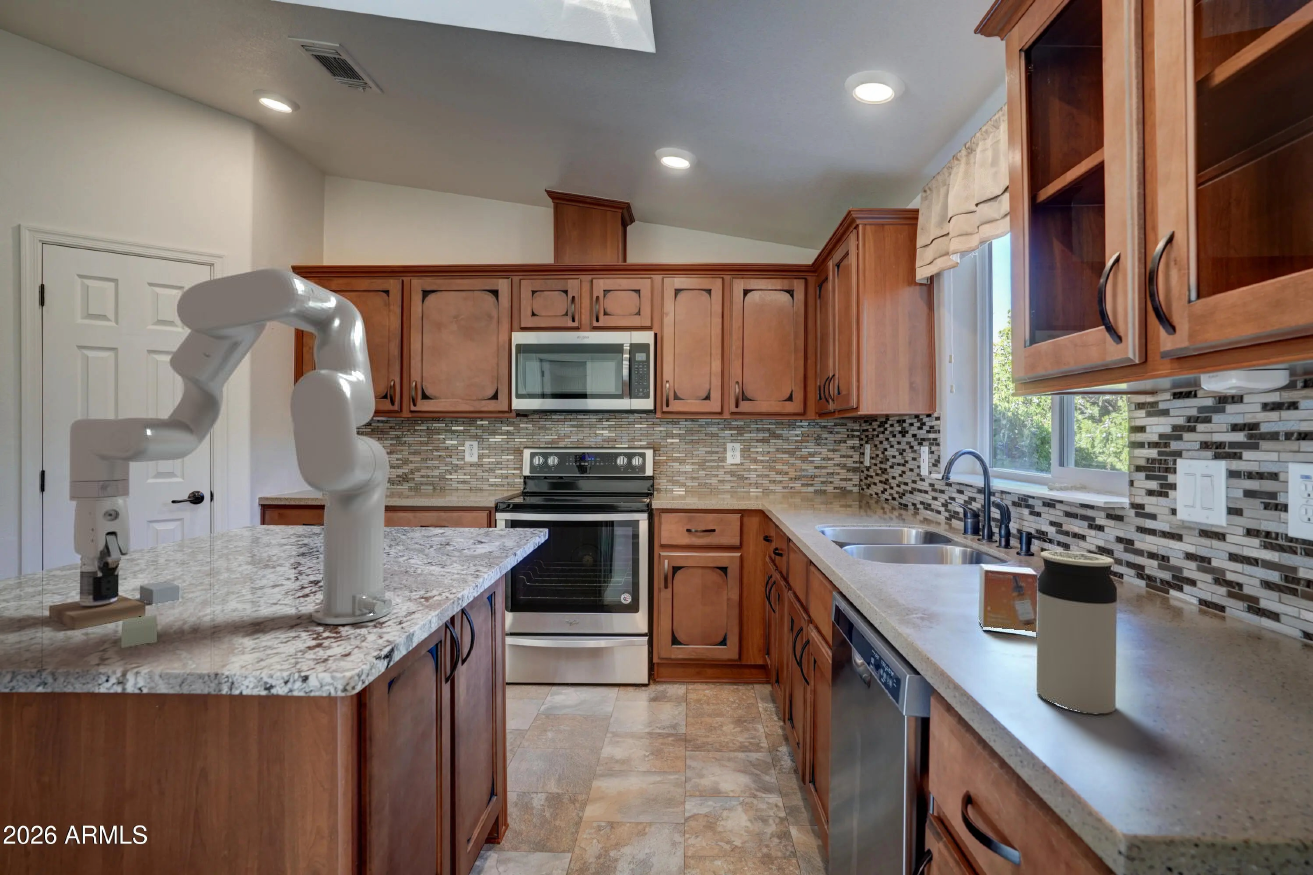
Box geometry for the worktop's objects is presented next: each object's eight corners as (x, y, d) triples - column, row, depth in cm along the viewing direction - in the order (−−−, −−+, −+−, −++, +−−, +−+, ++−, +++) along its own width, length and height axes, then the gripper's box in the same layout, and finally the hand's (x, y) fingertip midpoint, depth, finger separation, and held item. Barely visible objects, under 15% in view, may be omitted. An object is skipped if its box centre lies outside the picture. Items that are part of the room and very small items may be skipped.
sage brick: (156, 643, 89) (157, 623, 89) (121, 649, 87) (121, 629, 87) (156, 633, 94) (156, 614, 94) (122, 638, 91) (122, 619, 91)
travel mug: (1089, 721, 68) (1091, 564, 68) (1022, 693, 75) (1023, 552, 75) (1130, 709, 71) (1132, 559, 71) (1062, 683, 78) (1063, 548, 78)
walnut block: (145, 615, 102) (145, 603, 102) (74, 629, 94) (75, 617, 94) (117, 604, 108) (117, 593, 108) (49, 617, 100) (49, 605, 100)
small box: (982, 631, 100) (983, 569, 100) (978, 622, 105) (978, 562, 105) (1037, 638, 97) (1038, 573, 97) (1030, 628, 102) (1031, 567, 102)
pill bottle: (99, 606, 99) (99, 556, 99) (71, 606, 99) (71, 556, 99) (125, 598, 104) (125, 551, 104) (98, 598, 104) (99, 550, 104)
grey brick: (179, 601, 112) (179, 585, 112) (152, 606, 109) (153, 589, 109) (165, 596, 115) (165, 581, 115) (139, 601, 112) (139, 585, 112)
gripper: (148, 491, 100) (147, 598, 100) (109, 486, 109) (108, 585, 109) (89, 495, 94) (88, 609, 94) (52, 489, 102) (51, 594, 102)
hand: (99, 595), depth 101 cm, fingers closed on pill bottle, 4 cm apart
